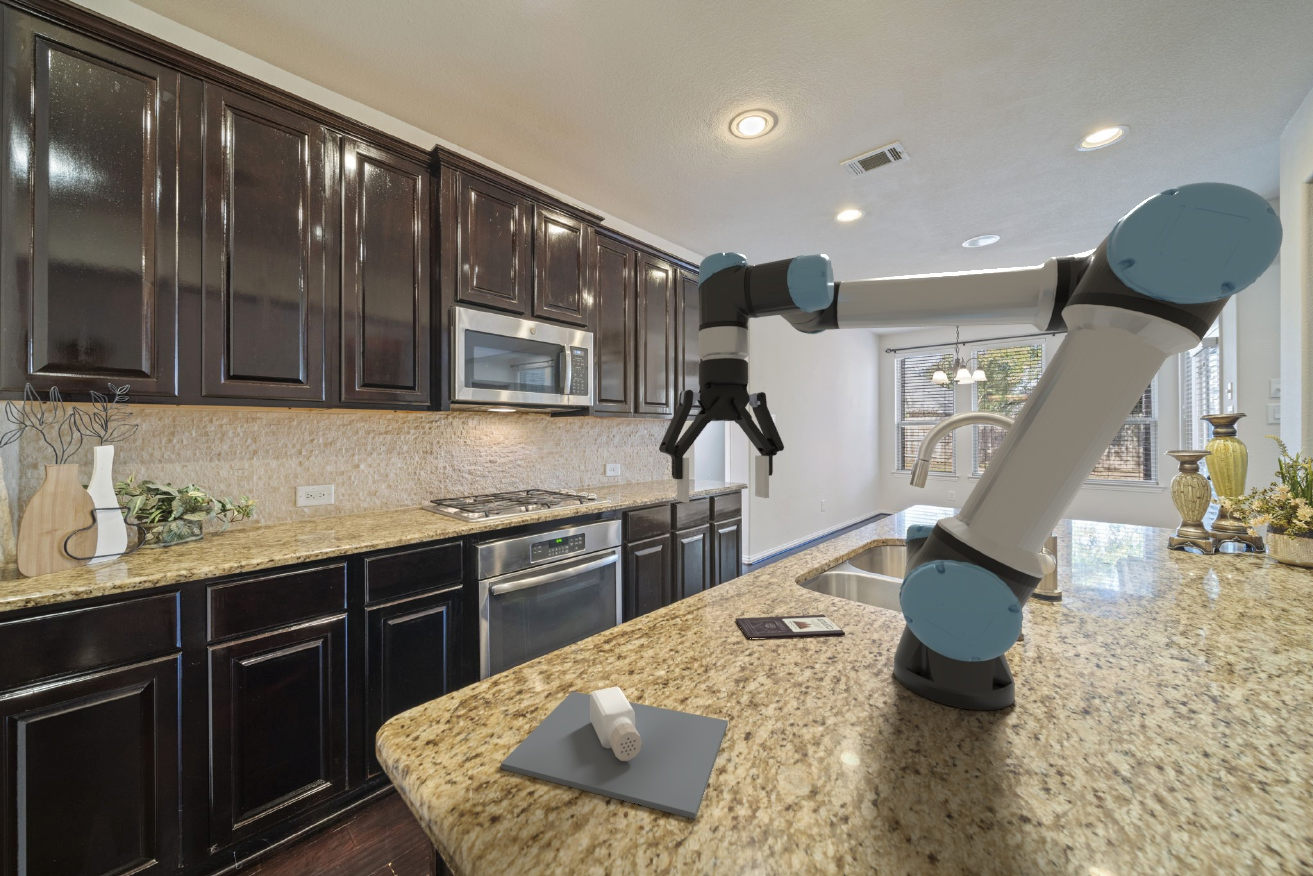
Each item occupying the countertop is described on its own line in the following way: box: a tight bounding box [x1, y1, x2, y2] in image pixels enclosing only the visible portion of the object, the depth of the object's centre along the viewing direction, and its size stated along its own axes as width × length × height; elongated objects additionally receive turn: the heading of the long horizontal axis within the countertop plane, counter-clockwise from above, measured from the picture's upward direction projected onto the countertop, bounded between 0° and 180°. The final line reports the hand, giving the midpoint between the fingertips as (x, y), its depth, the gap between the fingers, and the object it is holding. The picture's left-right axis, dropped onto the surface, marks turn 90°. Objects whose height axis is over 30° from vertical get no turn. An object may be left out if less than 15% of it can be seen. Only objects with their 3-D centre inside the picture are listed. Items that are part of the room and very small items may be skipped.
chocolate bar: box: [734, 614, 846, 640], centre depth 93 cm, size 9×1×18 cm
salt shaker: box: [590, 686, 642, 761], centre depth 58 cm, size 4×4×10 cm
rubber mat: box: [500, 690, 729, 820], centre depth 58 cm, size 22×16×1 cm
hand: (723, 499), depth 75 cm, fingers open, 13 cm apart
